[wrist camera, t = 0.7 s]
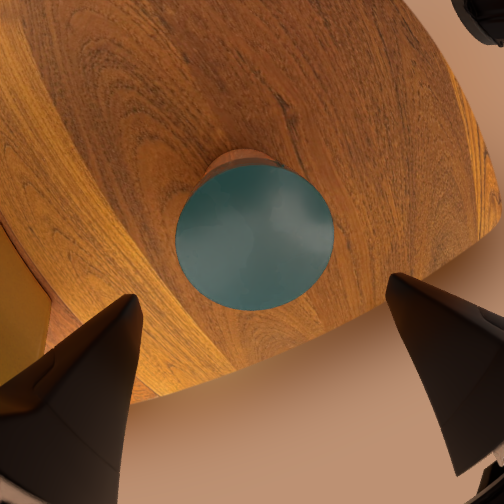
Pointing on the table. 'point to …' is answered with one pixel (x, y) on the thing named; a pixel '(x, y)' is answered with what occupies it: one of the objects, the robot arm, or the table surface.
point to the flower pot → (20, 313)
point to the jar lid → (254, 234)
